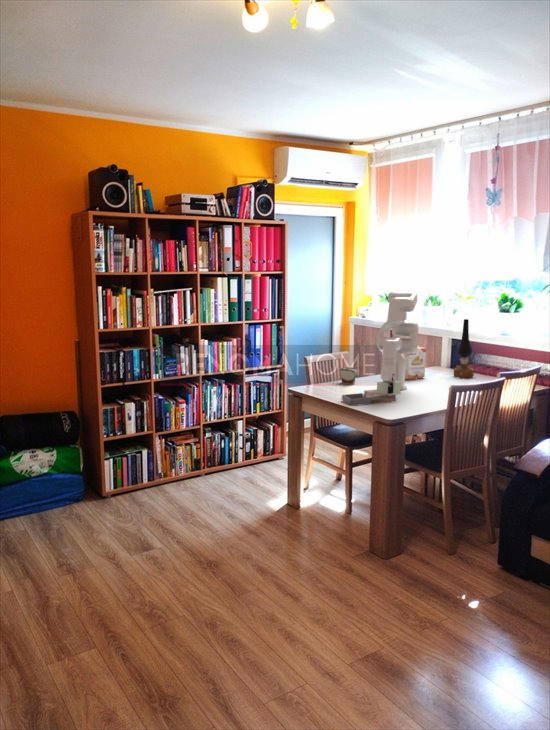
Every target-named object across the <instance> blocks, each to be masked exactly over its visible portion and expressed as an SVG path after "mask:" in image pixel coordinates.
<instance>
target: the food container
mask: <svg viewBox="0 0 550 730" xmlns="http://www.w3.org/2000/svg"><path fill="white" fill-rule="evenodd" d="M339 371H340V375H341V384H346V385H351V386H353V385H355V383H356V375H357V374H356V373H357V372H358V371H357V368H356V367H349V366H348V367H347V366H346V367H345V366H343V367H340V370H339Z"/></svg>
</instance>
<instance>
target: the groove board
mask: <svg viewBox="0 0 550 730" xmlns="http://www.w3.org/2000/svg"><path fill="white" fill-rule="evenodd" d="M396 396H397V394H393V395H381V396H375V397H372V404H379V402H383V403H392V402H391V401H394V402H396V401H397V399H396ZM363 397H364V392H363Z"/></svg>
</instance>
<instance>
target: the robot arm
mask: <svg viewBox="0 0 550 730" xmlns="http://www.w3.org/2000/svg"><path fill="white" fill-rule="evenodd" d="M387 300H388V303H389V304H388V311H387V318H386V319H387V320H386V321H385V322H384V323H383V324H382V325H381V326H380V328H379V329H378V332H377V339H376V346H377V349H379V350H380V351H382V363H381V368H380V369H381V370H380V372H381V373H380V379H381V380H382V382H386V381H387V382H389V387H388V393H389V394H390V393H393V387H394V384H395V383H396V381H400V382H401V389H400V391H404V390H407V389H408V386H407V385H405V382H406V379H405V359H404V354H415V353H416V352H417V348H418V347H419V346H418V344H419V324H418V322H417V321H415V320H407V312H408V313H411V312H413V311H414V309H415V308H416V306H417V302H418V294H417V293H416V292H415V291H391V292H389V293H388V296H387ZM389 330H391V333H392V335H394V336H397V337H389V336H386V337H385V336H384V334H385V333H386V332H387V331H389ZM404 337H405V338H404ZM406 337H408V338H406ZM390 382H392V383H391V384H390Z"/></svg>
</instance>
